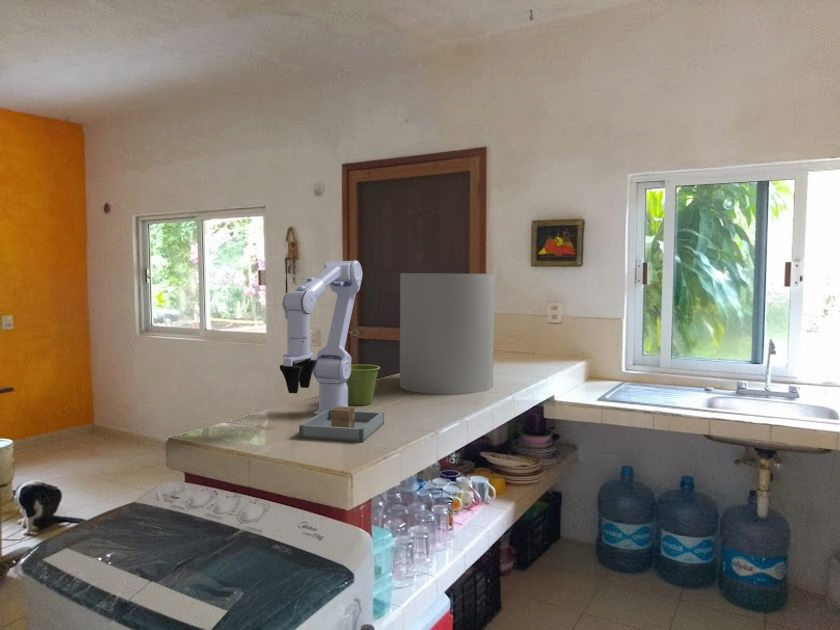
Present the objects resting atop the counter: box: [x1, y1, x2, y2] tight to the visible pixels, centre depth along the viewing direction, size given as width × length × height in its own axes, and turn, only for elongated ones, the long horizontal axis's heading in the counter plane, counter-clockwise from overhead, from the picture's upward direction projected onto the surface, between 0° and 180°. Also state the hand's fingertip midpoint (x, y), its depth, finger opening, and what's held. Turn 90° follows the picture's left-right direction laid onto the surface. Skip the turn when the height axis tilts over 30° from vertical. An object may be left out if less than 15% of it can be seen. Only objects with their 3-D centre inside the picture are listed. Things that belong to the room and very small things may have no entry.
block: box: [331, 406, 356, 428], centre depth 150 cm, size 4×4×5 cm
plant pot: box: [345, 363, 381, 406], centre depth 182 cm, size 12×12×11 cm
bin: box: [298, 409, 385, 443], centre depth 150 cm, size 18×16×3 cm
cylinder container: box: [399, 272, 496, 395], centre depth 213 cm, size 34×33×40 cm
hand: (299, 390), depth 153 cm, fingers open, 7 cm apart
